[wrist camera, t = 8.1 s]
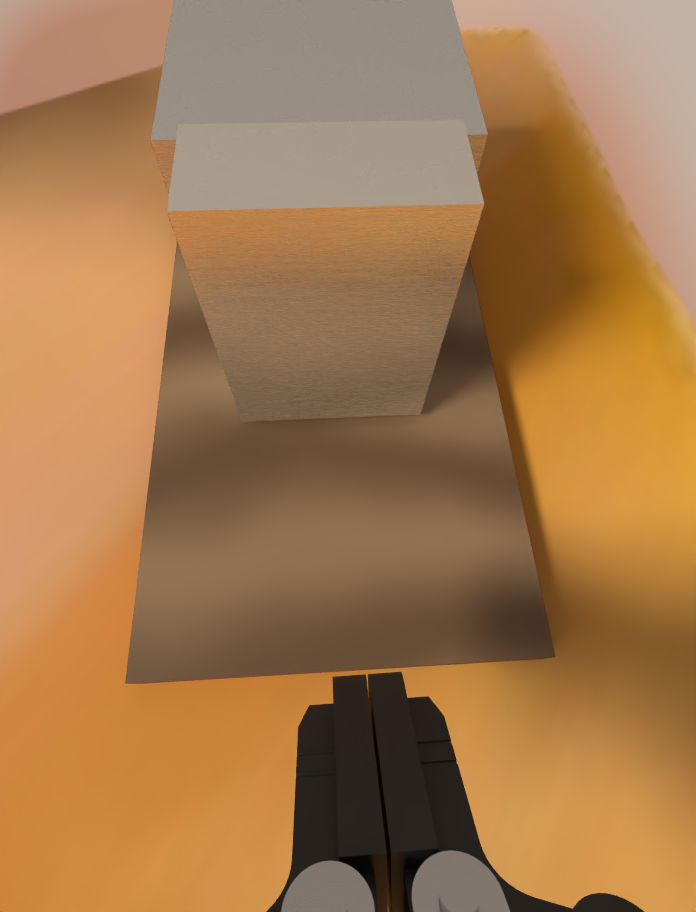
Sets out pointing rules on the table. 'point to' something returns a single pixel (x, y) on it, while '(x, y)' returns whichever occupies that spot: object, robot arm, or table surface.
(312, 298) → the brushed metal slider block
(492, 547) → the base plate
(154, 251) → the table surface
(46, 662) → the table surface
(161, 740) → the table surface
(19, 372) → the table surface
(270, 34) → the bearing block
